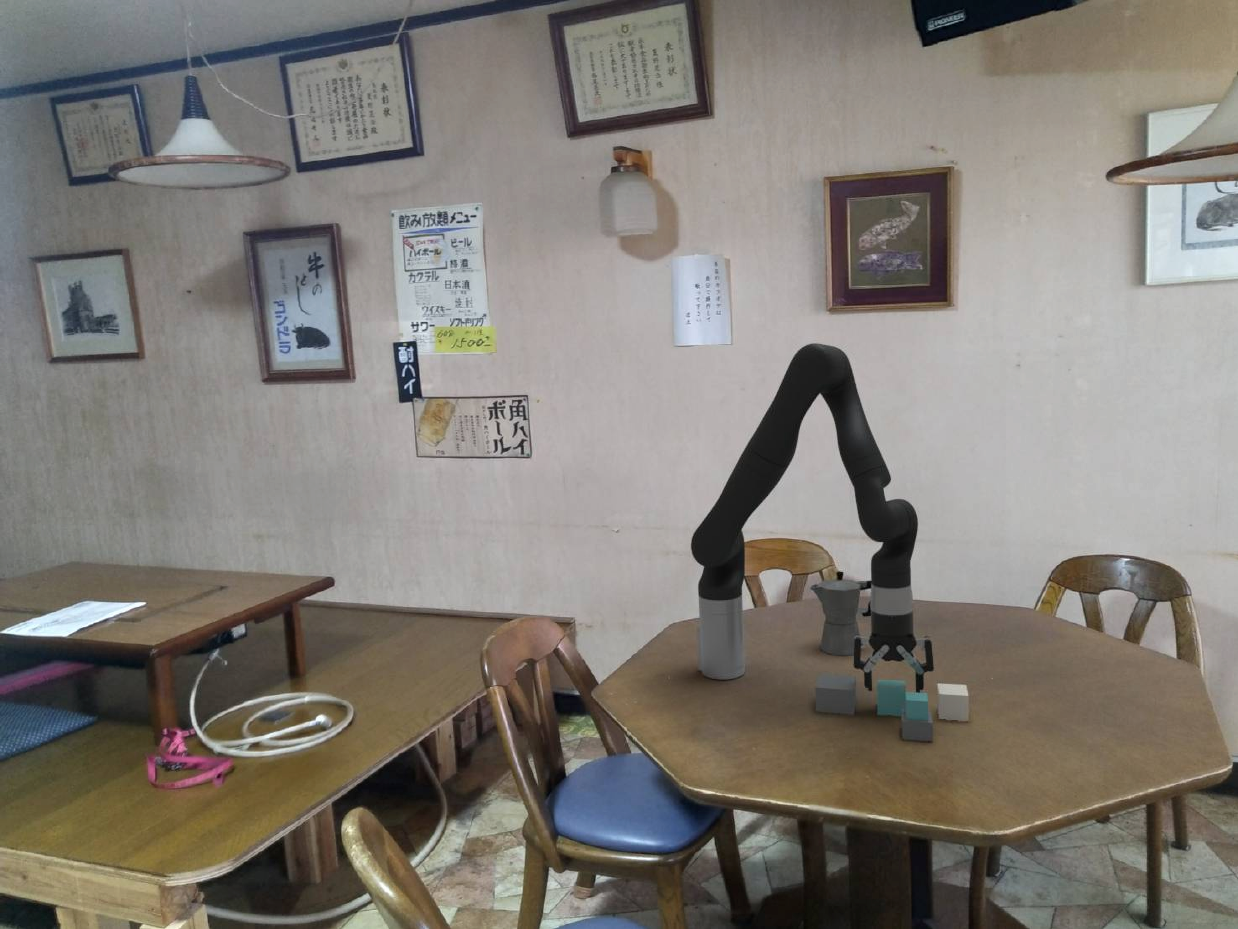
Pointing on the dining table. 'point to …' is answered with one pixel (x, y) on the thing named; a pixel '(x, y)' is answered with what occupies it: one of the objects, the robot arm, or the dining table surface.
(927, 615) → the dining table surface
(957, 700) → the cream block
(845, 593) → the coffeepot
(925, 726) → the stack
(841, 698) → the charcoal block
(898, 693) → the teal block
